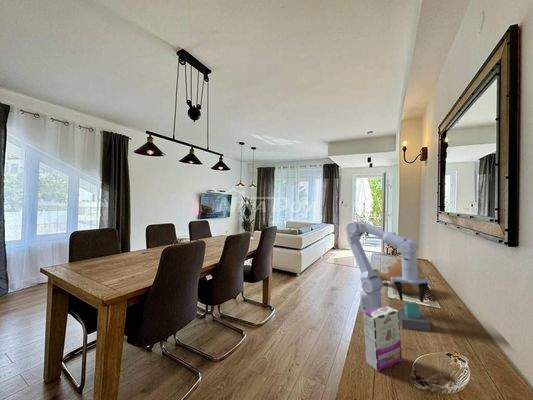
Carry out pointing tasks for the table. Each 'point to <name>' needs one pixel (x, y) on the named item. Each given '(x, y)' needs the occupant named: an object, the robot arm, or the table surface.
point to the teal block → (412, 310)
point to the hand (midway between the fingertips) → (411, 300)
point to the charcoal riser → (413, 322)
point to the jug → (397, 272)
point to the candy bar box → (382, 337)
